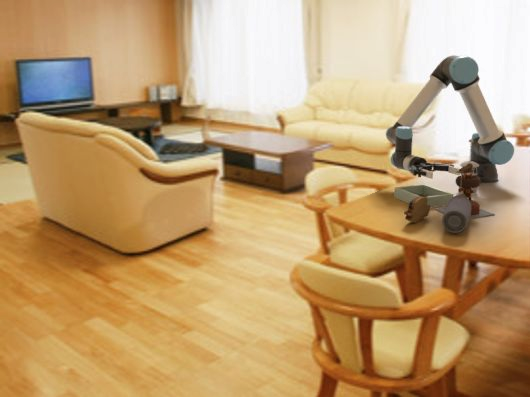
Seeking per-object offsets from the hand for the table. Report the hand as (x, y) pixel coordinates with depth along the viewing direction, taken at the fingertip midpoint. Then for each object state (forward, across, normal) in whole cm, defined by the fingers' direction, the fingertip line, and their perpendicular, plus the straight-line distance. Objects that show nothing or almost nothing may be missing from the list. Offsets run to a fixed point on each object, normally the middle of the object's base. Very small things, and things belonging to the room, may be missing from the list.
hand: (445, 173), depth 240 cm
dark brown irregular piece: (+13, 0, -13) cm, 18 cm away
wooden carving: (+15, +24, -14) cm, 31 cm away
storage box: (-9, +4, -13) cm, 17 cm away
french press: (-9, -20, -14) cm, 26 cm away
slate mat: (+13, 0, -13) cm, 18 cm away
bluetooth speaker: (+27, +15, -14) cm, 34 cm away
